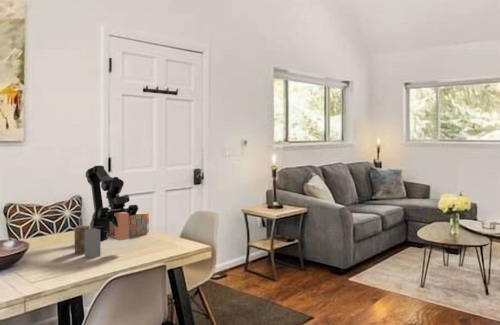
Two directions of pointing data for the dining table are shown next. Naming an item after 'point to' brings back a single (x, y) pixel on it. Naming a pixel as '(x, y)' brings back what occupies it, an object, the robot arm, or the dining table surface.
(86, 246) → the slate grey block
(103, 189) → the robot arm
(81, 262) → the dining table surface
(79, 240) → the walnut block
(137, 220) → the stack of blocks
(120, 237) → the terracotta block
